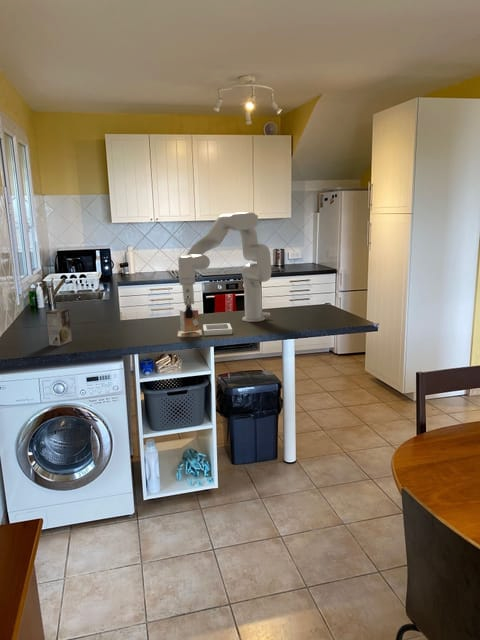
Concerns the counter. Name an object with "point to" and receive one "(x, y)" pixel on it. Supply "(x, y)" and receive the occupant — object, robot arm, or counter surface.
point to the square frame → (217, 329)
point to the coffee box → (59, 327)
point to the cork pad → (189, 333)
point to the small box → (189, 321)
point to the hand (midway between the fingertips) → (189, 316)
